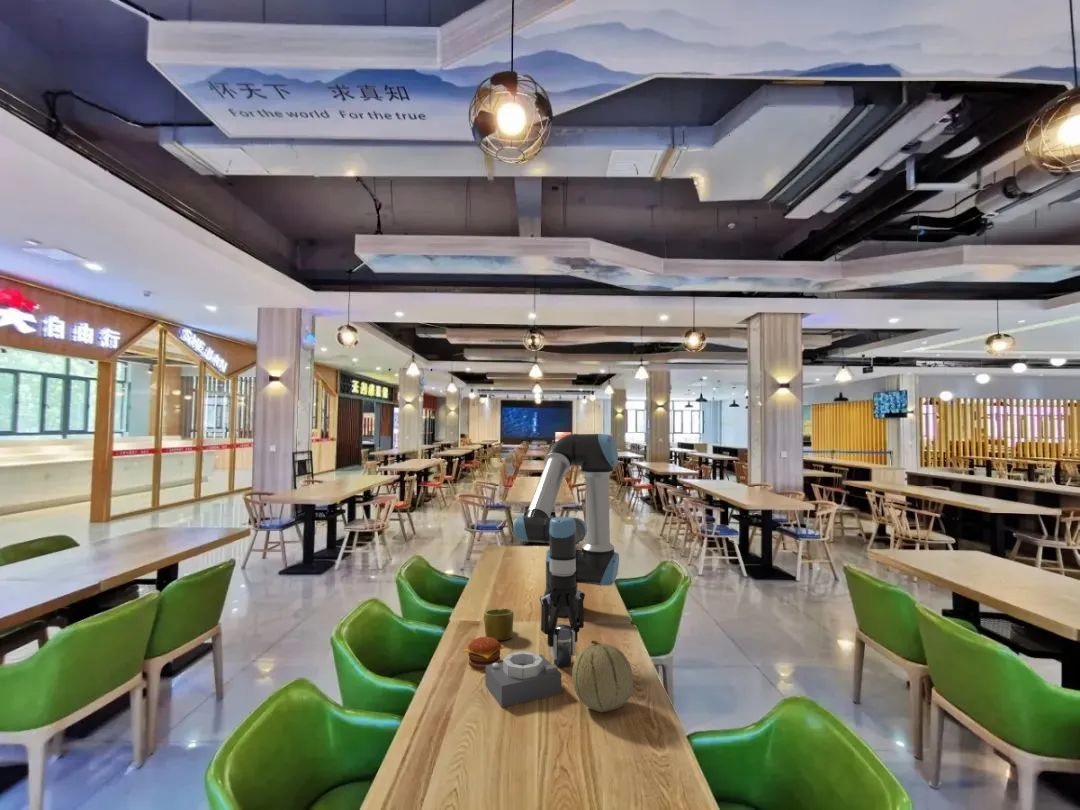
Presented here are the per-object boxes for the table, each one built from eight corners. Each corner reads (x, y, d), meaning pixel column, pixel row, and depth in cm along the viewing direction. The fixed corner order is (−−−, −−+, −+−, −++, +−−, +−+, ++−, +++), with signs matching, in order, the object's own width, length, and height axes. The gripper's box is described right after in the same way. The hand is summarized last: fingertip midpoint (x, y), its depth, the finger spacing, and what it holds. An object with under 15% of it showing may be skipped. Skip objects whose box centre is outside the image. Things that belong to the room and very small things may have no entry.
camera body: (541, 673, 143) (541, 645, 144) (561, 693, 133) (561, 663, 133) (485, 685, 137) (485, 655, 137) (501, 707, 126) (501, 675, 126)
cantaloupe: (618, 732, 116) (618, 662, 117) (560, 713, 124) (560, 647, 124) (643, 702, 128) (642, 639, 129) (589, 686, 136) (588, 627, 137)
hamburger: (489, 673, 144) (489, 648, 144) (461, 665, 149) (461, 641, 149) (507, 659, 152) (507, 636, 153) (480, 653, 157) (480, 630, 157)
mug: (513, 639, 162) (505, 606, 165) (483, 647, 164) (476, 614, 167) (524, 632, 173) (517, 601, 176) (496, 640, 175) (489, 609, 178)
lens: (566, 658, 153) (566, 622, 153) (574, 665, 148) (574, 628, 149) (550, 661, 151) (550, 625, 151) (558, 669, 146) (558, 631, 147)
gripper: (583, 566, 158) (584, 645, 157) (528, 572, 150) (528, 656, 149) (596, 572, 151) (596, 655, 150) (539, 579, 144) (539, 667, 142)
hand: (562, 655), depth 150 cm, fingers closed on lens, 5 cm apart
